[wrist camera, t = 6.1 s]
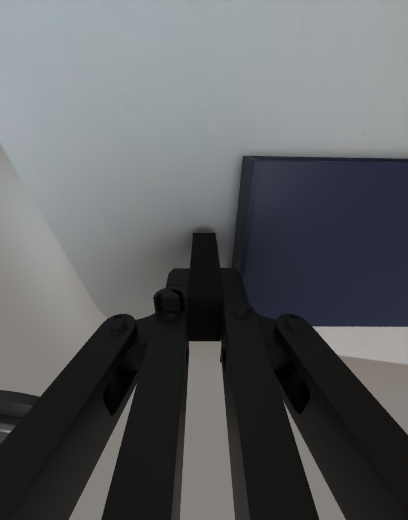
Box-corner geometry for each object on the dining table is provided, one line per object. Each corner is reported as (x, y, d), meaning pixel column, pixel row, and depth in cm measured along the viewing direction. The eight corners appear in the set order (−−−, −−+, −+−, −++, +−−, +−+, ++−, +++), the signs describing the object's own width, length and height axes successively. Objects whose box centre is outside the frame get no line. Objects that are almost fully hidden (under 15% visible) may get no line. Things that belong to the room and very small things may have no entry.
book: (228, 300, 19) (232, 326, 16) (243, 155, 13) (253, 160, 10) (397, 301, 19) (428, 326, 17) (492, 160, 13) (564, 165, 10)
